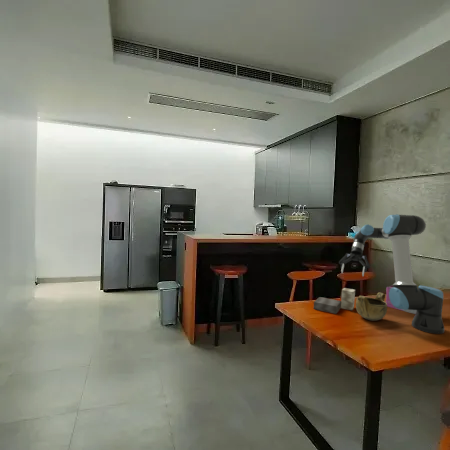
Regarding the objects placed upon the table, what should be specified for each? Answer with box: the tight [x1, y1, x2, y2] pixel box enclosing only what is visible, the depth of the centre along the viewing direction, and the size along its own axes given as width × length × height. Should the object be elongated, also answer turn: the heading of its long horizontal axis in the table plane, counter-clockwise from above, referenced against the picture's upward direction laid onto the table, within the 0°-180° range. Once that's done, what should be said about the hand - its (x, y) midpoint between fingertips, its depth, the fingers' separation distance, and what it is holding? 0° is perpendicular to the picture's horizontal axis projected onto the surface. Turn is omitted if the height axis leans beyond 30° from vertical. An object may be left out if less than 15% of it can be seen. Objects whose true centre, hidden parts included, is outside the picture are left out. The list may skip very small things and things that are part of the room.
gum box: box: [385, 284, 417, 315], centre depth 198 cm, size 24×8×14 cm, turn 40°
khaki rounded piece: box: [355, 291, 388, 322], centre depth 177 cm, size 22×17×15 cm
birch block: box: [340, 287, 356, 311], centre depth 196 cm, size 7×7×12 cm
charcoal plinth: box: [313, 296, 342, 315], centre depth 193 cm, size 14×14×5 cm
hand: (352, 273), depth 205 cm, fingers open, 13 cm apart
